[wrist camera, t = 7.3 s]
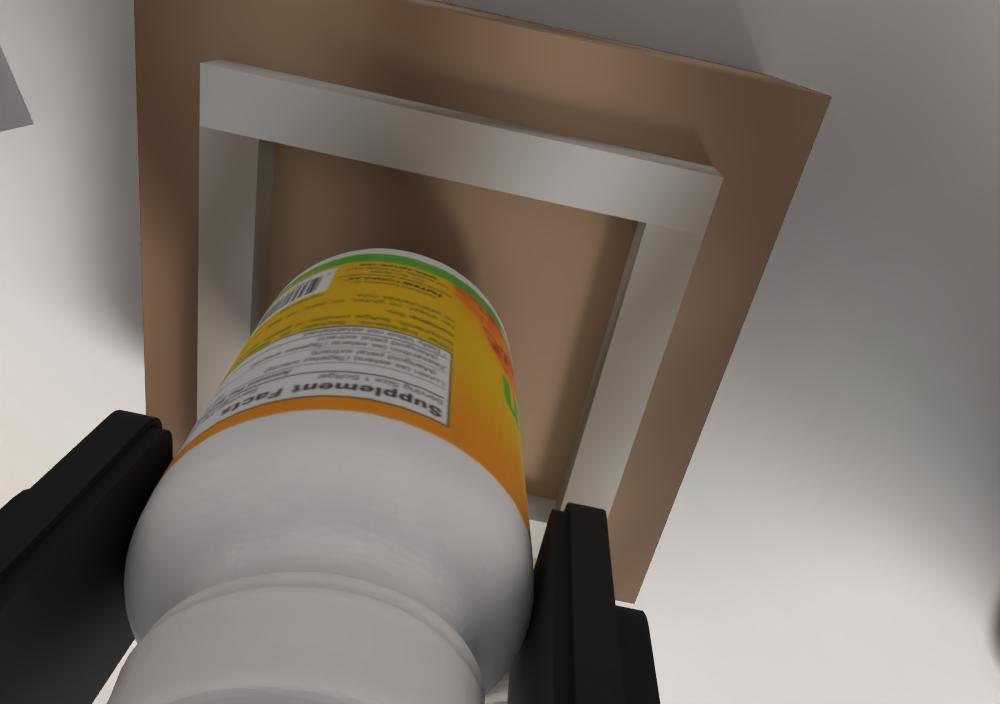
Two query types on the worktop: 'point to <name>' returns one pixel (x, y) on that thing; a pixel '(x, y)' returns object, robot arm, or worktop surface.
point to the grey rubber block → (11, 100)
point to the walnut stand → (471, 213)
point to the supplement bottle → (342, 506)
